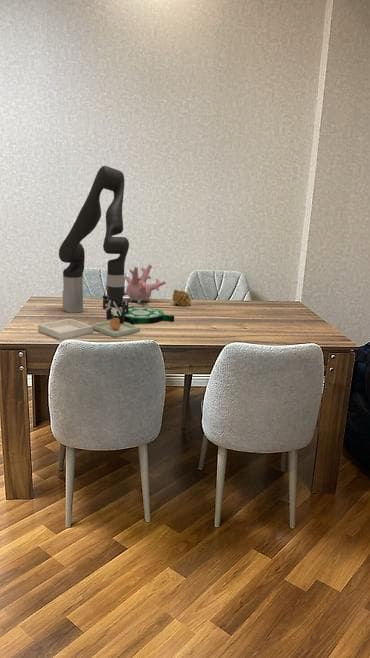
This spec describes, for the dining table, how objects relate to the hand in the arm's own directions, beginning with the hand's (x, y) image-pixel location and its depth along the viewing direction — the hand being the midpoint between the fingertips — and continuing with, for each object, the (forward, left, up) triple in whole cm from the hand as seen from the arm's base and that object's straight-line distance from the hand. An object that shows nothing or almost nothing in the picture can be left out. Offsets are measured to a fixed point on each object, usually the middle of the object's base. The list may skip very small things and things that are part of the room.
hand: (115, 321), depth 211 cm
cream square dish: (-11, -18, -4) cm, 21 cm away
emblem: (-7, +23, -5) cm, 25 cm away
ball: (0, 0, -1) cm, 1 cm away
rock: (-16, +61, -4) cm, 63 cm away
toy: (-34, +46, -4) cm, 57 cm away
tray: (0, 0, -4) cm, 4 cm away
